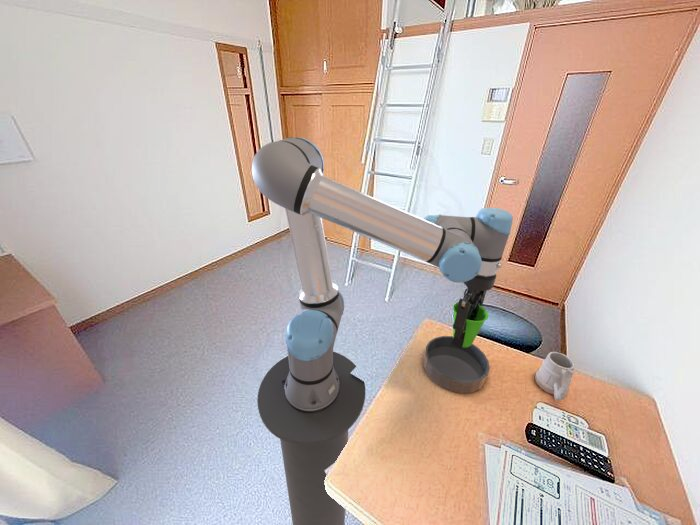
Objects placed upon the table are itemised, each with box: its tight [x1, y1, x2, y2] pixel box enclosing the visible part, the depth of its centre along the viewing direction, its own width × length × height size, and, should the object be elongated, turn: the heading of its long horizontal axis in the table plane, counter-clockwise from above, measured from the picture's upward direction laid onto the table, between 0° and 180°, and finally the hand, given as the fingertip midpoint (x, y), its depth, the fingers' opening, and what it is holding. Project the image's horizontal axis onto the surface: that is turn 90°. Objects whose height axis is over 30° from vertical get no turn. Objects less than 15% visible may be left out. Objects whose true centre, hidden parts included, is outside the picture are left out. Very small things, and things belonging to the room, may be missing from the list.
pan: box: [422, 335, 491, 394], centre depth 87 cm, size 18×18×4 cm
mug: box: [534, 351, 576, 402], centre depth 79 cm, size 8×12×12 cm, turn 161°
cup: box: [452, 301, 489, 347], centre depth 80 cm, size 9×9×11 cm
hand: (461, 340), depth 82 cm, fingers closed on cup, 5 cm apart
